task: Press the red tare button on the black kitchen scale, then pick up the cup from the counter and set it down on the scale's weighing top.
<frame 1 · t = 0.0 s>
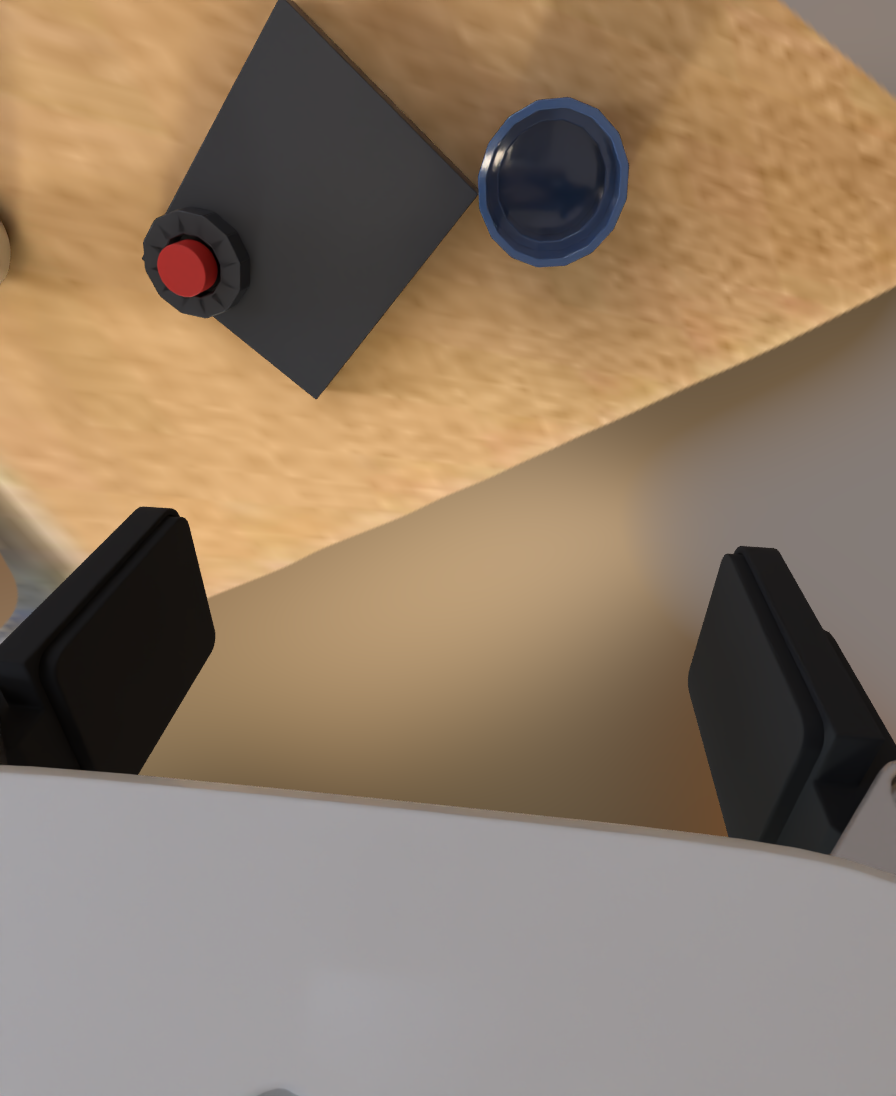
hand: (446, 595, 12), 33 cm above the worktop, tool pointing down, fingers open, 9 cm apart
cup: (549, 178, 36), on the worktop
tare button: (188, 268, 37), point 4 cm above the worktop, slide at 0.1 cm
scale: (310, 223, 39), on the worktop
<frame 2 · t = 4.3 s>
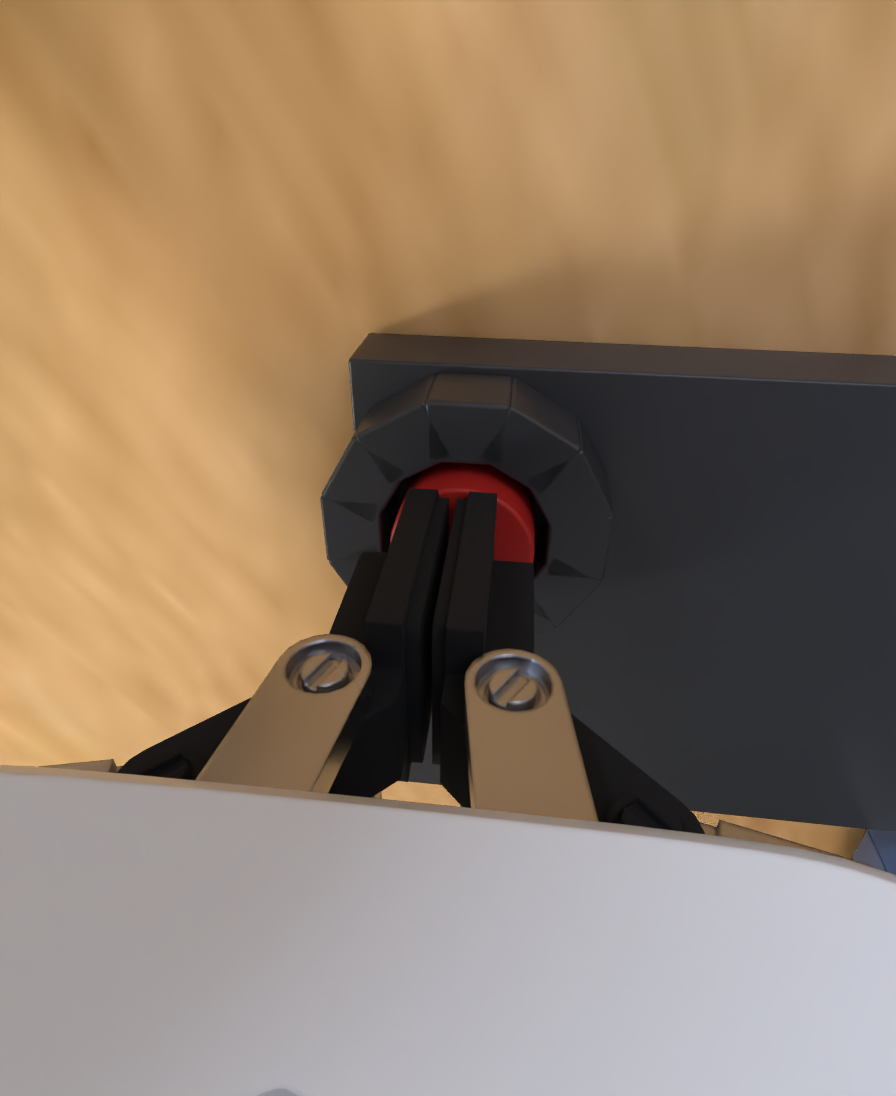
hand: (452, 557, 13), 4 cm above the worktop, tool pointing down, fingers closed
tare button: (465, 529, 13), point 3 cm above the worktop, slide at -0.8 cm, touching gripper
scale: (679, 594, 17), on the worktop
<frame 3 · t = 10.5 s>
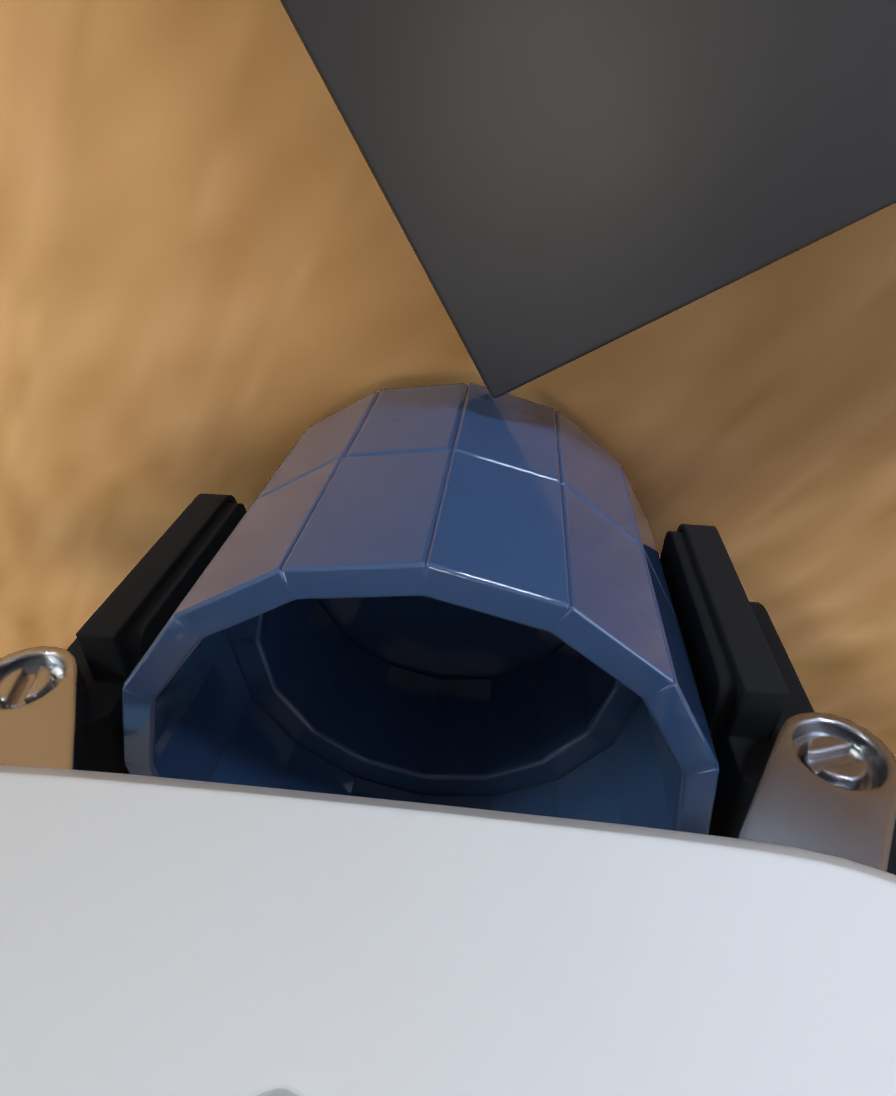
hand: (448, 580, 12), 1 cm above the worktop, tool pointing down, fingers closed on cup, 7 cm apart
cup: (453, 553, 13), on the worktop, touching gripper
when the fingers open (3 cm above the worktop, at t = 17.1 s): cup stays where it is, resting on scale.
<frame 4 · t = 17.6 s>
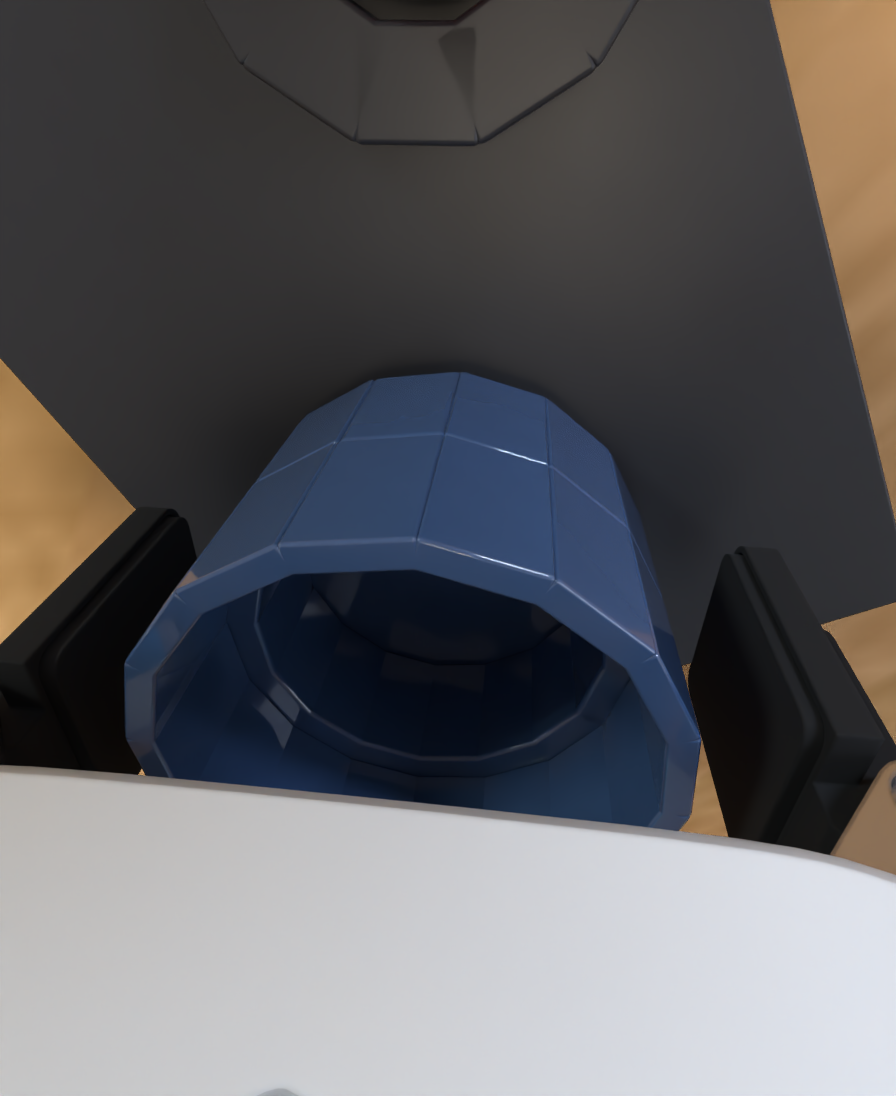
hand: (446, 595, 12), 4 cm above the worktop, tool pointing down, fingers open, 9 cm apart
cup: (447, 540, 13), point 2 cm above the worktop, touching scale
scale: (430, 356, 13), on the worktop
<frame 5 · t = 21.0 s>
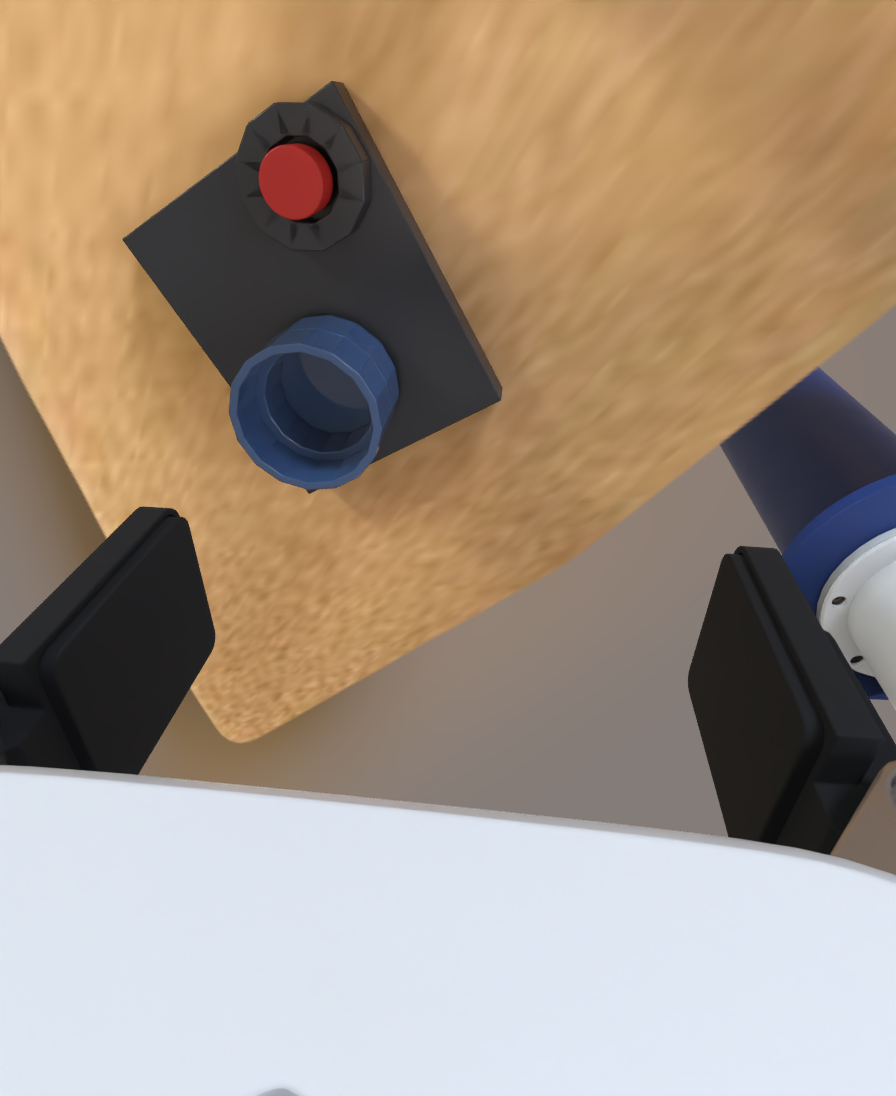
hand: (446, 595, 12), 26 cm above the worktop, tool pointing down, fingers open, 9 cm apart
cup: (334, 381, 35), point 2 cm above the worktop, touching scale
tare button: (296, 181, 28), point 4 cm above the worktop, slide at 0.1 cm
scale: (328, 313, 35), on the worktop
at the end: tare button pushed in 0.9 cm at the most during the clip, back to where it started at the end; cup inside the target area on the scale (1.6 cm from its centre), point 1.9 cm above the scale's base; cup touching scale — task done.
